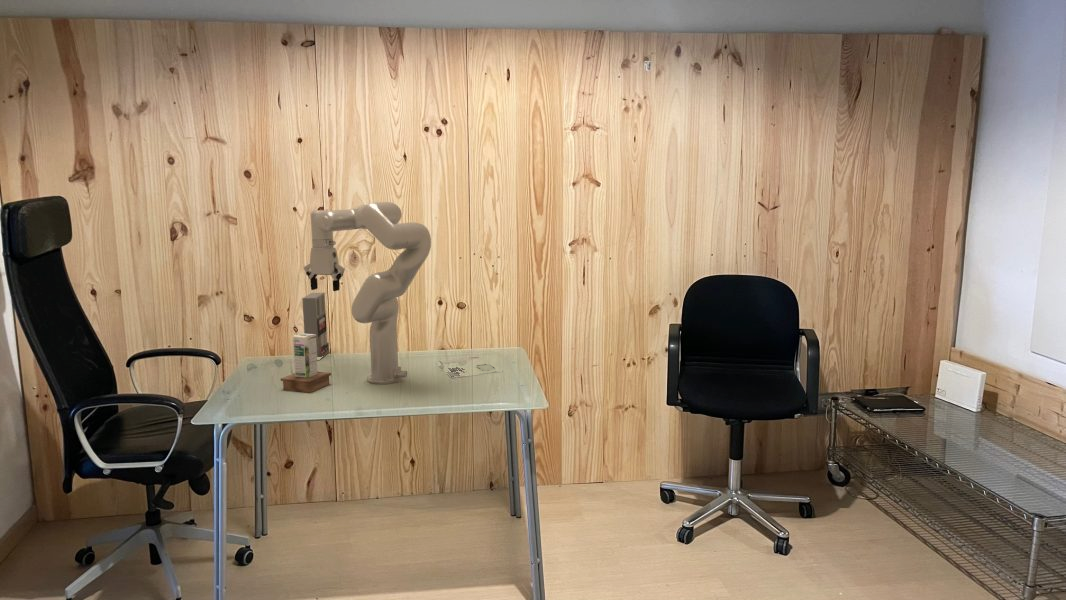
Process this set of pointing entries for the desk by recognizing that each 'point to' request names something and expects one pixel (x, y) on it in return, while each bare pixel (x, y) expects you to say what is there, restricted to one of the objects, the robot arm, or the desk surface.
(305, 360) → the syrup box
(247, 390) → the desk surface
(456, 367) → the office telephone
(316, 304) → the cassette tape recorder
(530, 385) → the desk surface
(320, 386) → the walnut stand
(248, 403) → the desk surface
